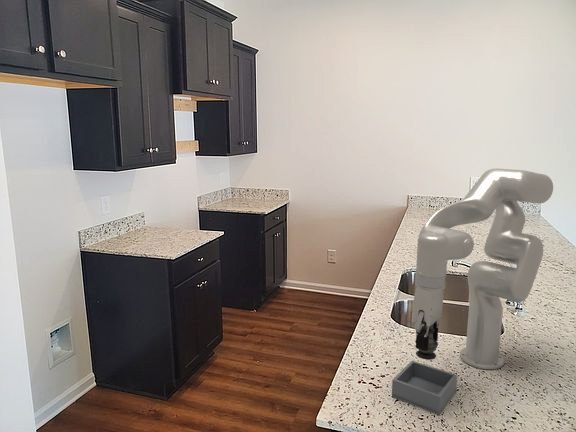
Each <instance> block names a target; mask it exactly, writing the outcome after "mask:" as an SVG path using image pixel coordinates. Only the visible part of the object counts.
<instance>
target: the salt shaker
mask: <svg viewBox="0 0 576 432" xmlns="http://www.w3.org/2000/svg"><path fill="white" fill-rule="evenodd" d="M423 324H427V322H423ZM425 328H426V327H424V326H422V329H424V331H425ZM433 332H434V328H433V324H432V325H431V326H429V331H428V336H429V345H428V351H424V350H420V349H417V350H416V351H415V355H416V357H418V358H419V359H422V360H428V361H429V360H430V361H431V360H434V359H436V358H437V353H435V352H436V350H437V347H438V346H439V342H438V340H437V341H435V340H434V339H433ZM414 342H415V343H416V339H415V341H414Z"/></svg>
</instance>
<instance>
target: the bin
mask: <svg viewBox="0 0 576 432" xmlns="http://www.w3.org/2000/svg"><path fill="white" fill-rule="evenodd" d="M391 381H392V382H391V397H392V398H395V399H397V400H400V401H401V402H405V403H408V404H409V405H412V406H415V407H417V408H420V409H423V410H426V411H428V412H431V413H434V414H435V415H438V416H440V414H441V413H442V411H443V410H445V408H446V406H447V405H448V404H449V402H450V401H451V399H452V398H453V396H455V394H456V393H457V383H458V374H455V373H451V372H449V371H446V370H443V369H439V368H436V367H434V366H430V365H427V364H424V363H423V362H422V363H421V362H418V361H415V360H411V361H410V362H409V363H408V364H407V365H406V366H405V367H404V368H403V369H402V370H400V372H398V374H396V376H395V377H394V378H393V379H392V380H391Z"/></svg>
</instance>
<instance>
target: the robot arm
mask: <svg viewBox="0 0 576 432" xmlns="http://www.w3.org/2000/svg"><path fill="white" fill-rule="evenodd" d="M553 192H554V184H553V180H552V178H551V177H550V176H548V175H546V174H542V173H538V172H533V171H529V170H524V169H523V170H522V169H509V168H491V169H488V170H486V171H484V173H483V174H482V175H481V176H480V177H479V178H478V180H477V181H476V182H475V183H474V184H473V187H471V189H470V190H469V191H468V192H467V194H466V195H465V197H464V198H463V199H460V200H458V201H455V202H453V203H451V204H449V205H447V206H446V205H445V206H444V207H442V208H441V209H440V208H439V210H437V211H436V212H435V213H433V214H432V215H431V216H430V217H429V219H428V220H427V221H426V222H425V223H424V225H423V227H422V228H421V229H420V231H419V234H418V237H417V249H416V250H417V251H416V266H415V267H416V268H415V284H414V285H415V286H416V287H415V290H414V297H413V304H412V313H411V314H412V315H411V322H412V324H414V330H415V334H416V335H415V337H416V338H415V340H416V342H415V349H417V350H419V349H420V350H424V351H428V345H429V336H428V331H429V326H431V325H432V324H433V328H434V332H433V339H434V340H435V341H437V342H438V339H439V336H438V335H439V325H440V320H439V319H440V318H441V317H442V314H443V307H444V290H445V289H446V286H447V285H446V283H447V271H448V270H447V269H448V267H447V266H448V261H451V260H453V261H454V260H455V261H456V260H462V259H466V258H468V257H469V256H470V255H471V254H472V252H473V250H474V247H475V242H474V239H473V237H472V236H471V234H469V233H468V232H466V231H462V230H457V229H453V228H454V227H458V226H461V225H463V226H464V225H468V224H469V225H470V224H475V223H479V222H483V221H486V220H488V219H490V217H491V216H492V214H493V213H494V212H495V216H494V218H493V220H492V221H493V222H492V225H491V227H490V229H489V233H488V235H487V238H486V240H485V243H484V247H483V249H484V251H483V252H484V254H485V255H486V256H487V258H490V259H493V260H496V261H498V262H504V263H507V264H511V265H515V266H516V267H513V266H509V265H504V264H501V263H497V262H492V261H487V260H486V261H485V260H479V261H476V262H473V263H472V264H471V265H470V267H469V268H468V271H467V282H468V283H467V284H468V290H469V299H468V300H469V301H468V302H469V304H468V315H467V327H466V328H467V330H466V343H465V348H462V349H461V350H460V354H459V355H460V359H461V360H462V361H463V362H464V363H465V364H468V365H469V366H471V367H474V368H476V369H477V368H478V369H483V370H498V369H500V368H501V367H503V366H504V365H505V364H504V363H505V359H504V357H503V356H502V355H501V354H500V346H501V345H500V344H501V335H502V322H503V312H504V309H503V304H502V301H501V299H503V300H506V301H511V302H515V303H521V302H524V301H526V300H527V298H528V297H529V295H530V294H531V291H532V288H533V286H534V283H535V280H536V277H537V274H538V271H539V268H540V267H541V266H540V265H541V262H542V259H543V255H544V244H543V241H542V240H541V239H540V237H538V236H536V235H533V234H529V233H522V232H523V229H524V227H525V224H526V216H525V212H524V211H523V209H522V207H521V206H520V205H519V203H518V202H525V203H531V204H539V205H540V204H544V203H546V202H548V200H550V198H551V197H552V195H553ZM500 298H501V299H500ZM423 322H427V324H423ZM422 326H424V327H426V328H425V331H424V329H422Z"/></svg>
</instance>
